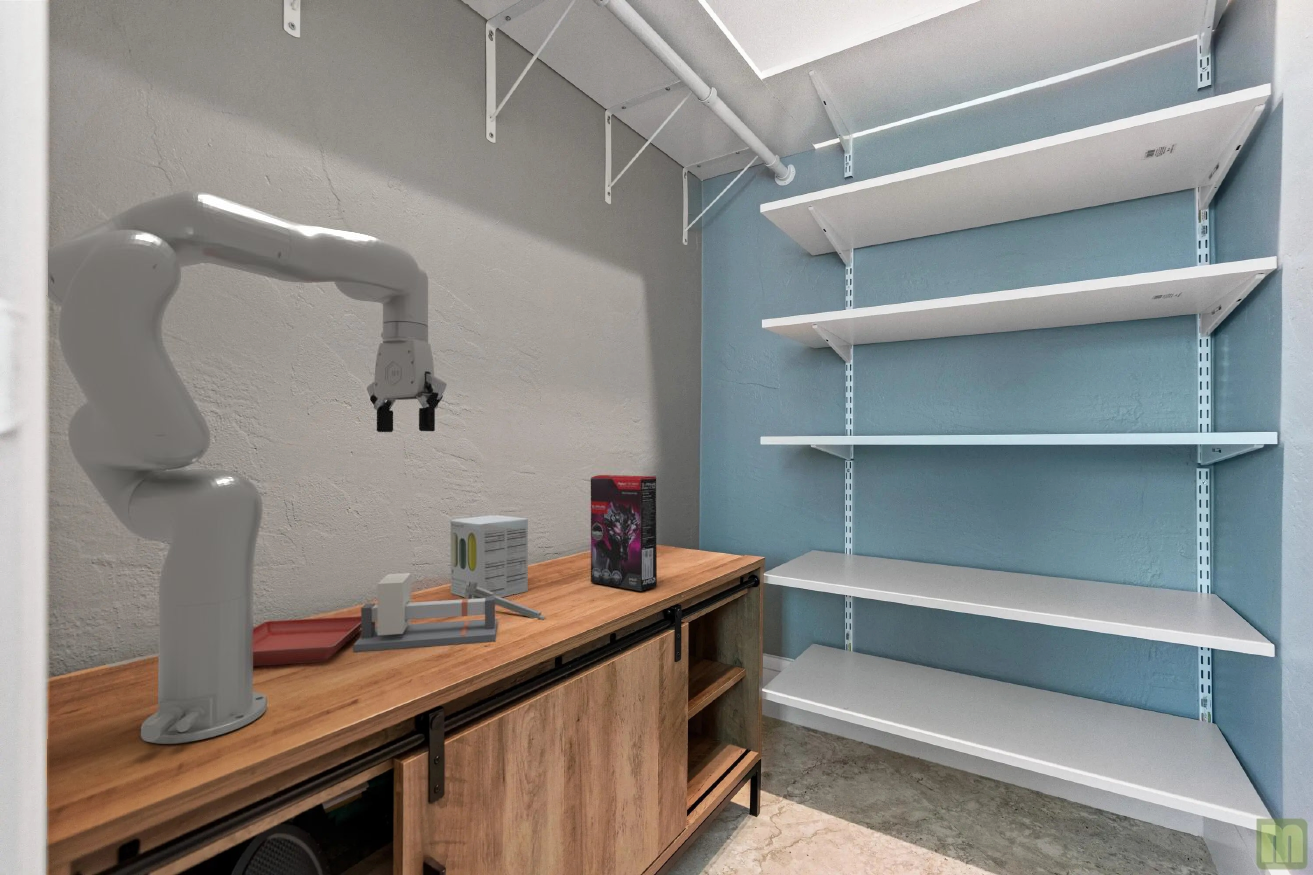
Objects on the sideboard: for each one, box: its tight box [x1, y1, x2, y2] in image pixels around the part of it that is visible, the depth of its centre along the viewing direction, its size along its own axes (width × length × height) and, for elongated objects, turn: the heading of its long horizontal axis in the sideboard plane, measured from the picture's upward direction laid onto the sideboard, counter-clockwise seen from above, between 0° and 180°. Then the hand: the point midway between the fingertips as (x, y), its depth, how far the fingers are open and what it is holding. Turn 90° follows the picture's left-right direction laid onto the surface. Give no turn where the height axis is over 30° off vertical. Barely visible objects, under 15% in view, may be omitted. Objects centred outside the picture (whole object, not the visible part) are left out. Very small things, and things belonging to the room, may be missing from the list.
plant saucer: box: [253, 615, 361, 667], centre depth 101 cm, size 18×18×3 cm
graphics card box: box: [590, 474, 658, 592], centre depth 146 cm, size 17×7×27 cm, turn 53°
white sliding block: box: [376, 572, 412, 635], centre depth 105 cm, size 8×4×9 cm, turn 13°
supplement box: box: [449, 514, 529, 599], centre depth 140 cm, size 13×13×18 cm
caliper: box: [464, 580, 547, 620], centre depth 122 cm, size 20×1×6 cm, turn 65°
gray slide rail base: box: [353, 596, 498, 653], centre depth 107 cm, size 10×23×6 cm, turn 103°
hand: (405, 431), depth 105 cm, fingers open, 9 cm apart
